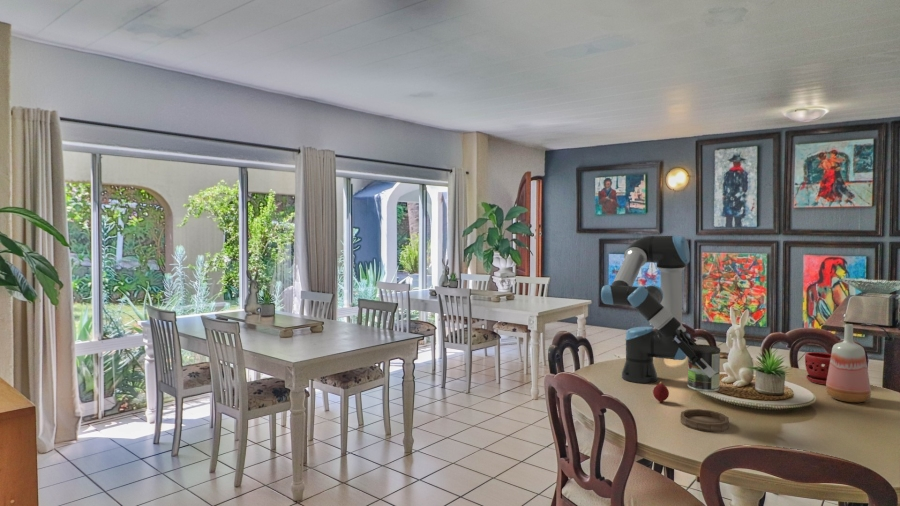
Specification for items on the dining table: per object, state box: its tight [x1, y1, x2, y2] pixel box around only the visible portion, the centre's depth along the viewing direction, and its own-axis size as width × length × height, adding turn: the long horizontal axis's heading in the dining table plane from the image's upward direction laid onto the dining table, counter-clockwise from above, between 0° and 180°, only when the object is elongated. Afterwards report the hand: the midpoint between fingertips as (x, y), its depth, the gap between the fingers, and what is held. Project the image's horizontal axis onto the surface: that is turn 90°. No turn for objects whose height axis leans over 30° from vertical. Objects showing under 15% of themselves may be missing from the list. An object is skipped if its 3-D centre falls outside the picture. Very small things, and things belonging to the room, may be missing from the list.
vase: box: [825, 323, 872, 404], centre depth 219 cm, size 14×14×30 cm
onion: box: [652, 381, 670, 403], centre depth 219 cm, size 6×6×8 cm
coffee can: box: [687, 343, 721, 393], centre depth 195 cm, size 10×10×14 cm
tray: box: [680, 408, 730, 433], centre depth 196 cm, size 15×15×3 cm
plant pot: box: [804, 351, 831, 386], centre depth 243 cm, size 13×13×12 cm
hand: (713, 371), depth 193 cm, fingers closed on coffee can, 10 cm apart
